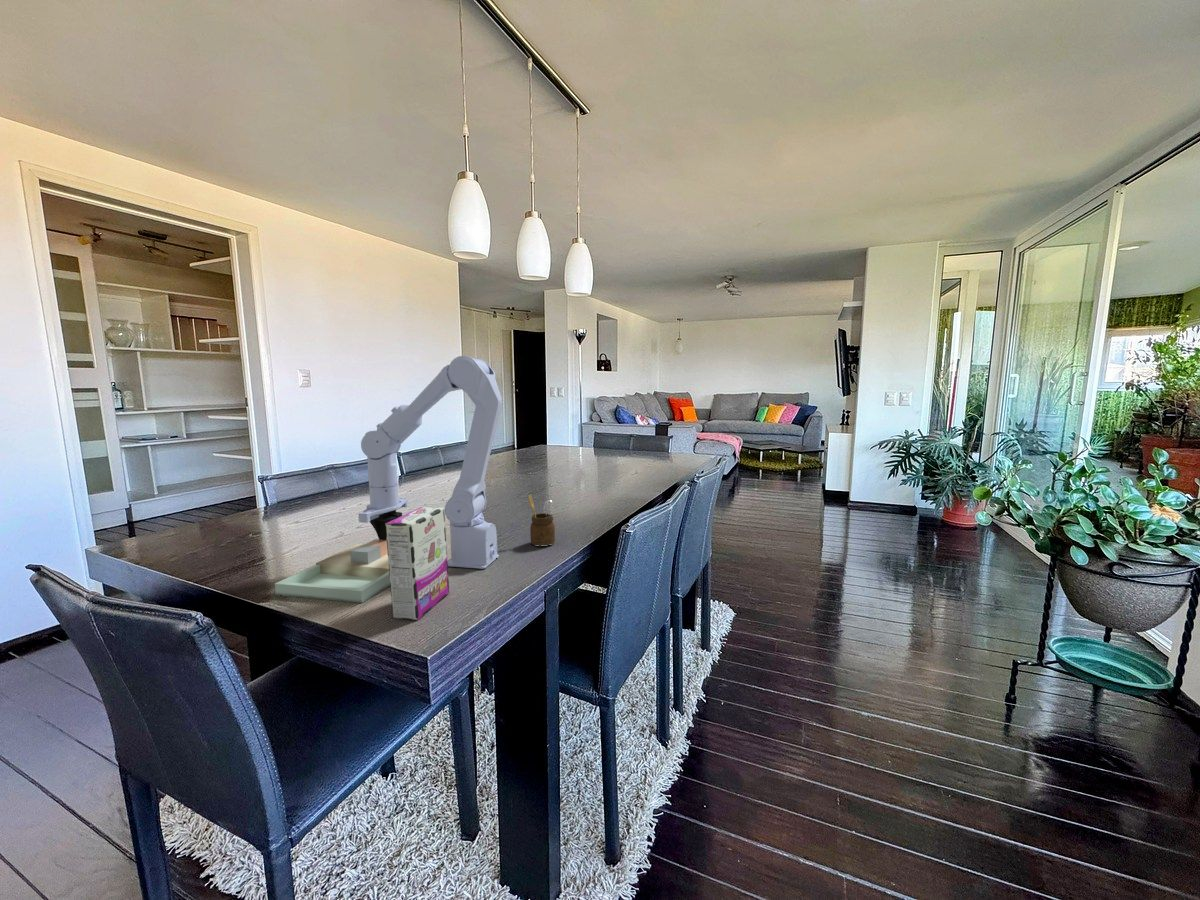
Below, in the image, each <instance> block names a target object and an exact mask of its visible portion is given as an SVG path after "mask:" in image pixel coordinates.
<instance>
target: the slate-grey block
mask: <svg viewBox="0 0 1200 900" xmlns="http://www.w3.org/2000/svg"><path fill="white" fill-rule="evenodd" d="M350 556H351V563H358V564H370V563H372V562H374V561H376V560H377V559H379V558H381V550H380V546H371V545H362V546H360V547H358V548H356V549H354V550H351V551H350Z"/></svg>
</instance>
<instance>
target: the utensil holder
mask: <svg viewBox="0 0 1200 900" xmlns="http://www.w3.org/2000/svg"><path fill="white" fill-rule="evenodd" d="M527 498H528V501H529V505H530V508H531V509H532V513H533V515H532V516H531V523H530V528H529V531H530V532H529V533H530V534H529V535H530V536H529V537H530V544H531V545H532V544H533V545H539V546H541V545H549V544H553V543H554V542H555V543H556V528H555V527H556V526H555V523H554V516H553V512H554V507H555V506H554V505H555V504H554V502H553V500H551V499H548V500H546V502H544V506H543V509H548V506H546V505H547V504H549V502H550V506H549V507H552V509H551V510H549V513H548V512H543V513H542V512H540V513H536V511H535V504H534V500H533V497H532V494H529V495H527ZM552 504H553V505H552ZM545 507H546V508H545ZM555 543H554V544H555ZM554 544H553V545H554ZM533 545H532V546H533Z"/></svg>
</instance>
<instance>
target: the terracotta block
mask: <svg viewBox="0 0 1200 900" xmlns="http://www.w3.org/2000/svg"><path fill="white" fill-rule="evenodd" d="M363 544H364V545H371V546H380V550H381V557H383V556H385V555H387V554H388V550H387V540H379V538H378V539H373V540H371V541H369V542H367V543H363Z"/></svg>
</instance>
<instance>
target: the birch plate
mask: <svg viewBox="0 0 1200 900" xmlns="http://www.w3.org/2000/svg"><path fill="white" fill-rule="evenodd" d="M364 544H365V543H357V544H355V545H353V546H351V547H348V548H346V549H344V550H342V551H340V552H337V553H335V554H333V555H331V556H328V557H326V558H324V559H321V560H320V561H318V562H315V565H320V569H321V573H322V574H334V575H347V576H359V577H372V578H379V577H380V576H382V575H384V574H385V573H387V572H389V563H388V554H387V555H385V556H383V557H381V558H379V559H377V560H376V561H374V562H372V563H370V564H358V563H351V556H350V551H351V550H354V549H356V548H358V547H360V546H362V545H364Z"/></svg>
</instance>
